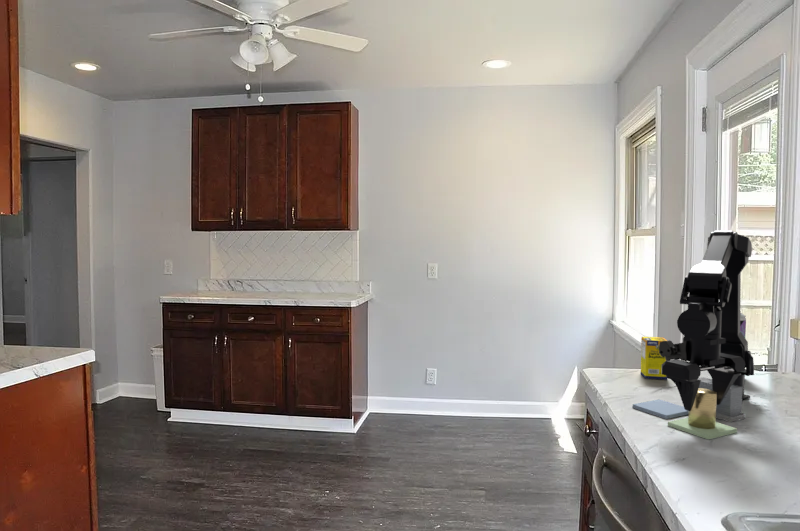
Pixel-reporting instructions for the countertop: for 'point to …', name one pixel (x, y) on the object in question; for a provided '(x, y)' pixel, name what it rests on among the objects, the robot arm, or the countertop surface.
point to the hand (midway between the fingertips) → (702, 407)
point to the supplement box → (652, 358)
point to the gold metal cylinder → (703, 410)
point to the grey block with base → (727, 402)
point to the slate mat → (661, 408)
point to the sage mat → (704, 433)
